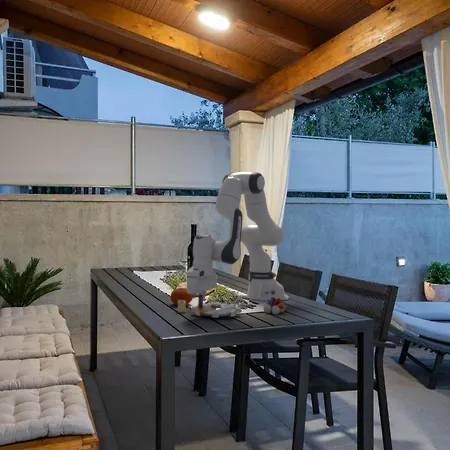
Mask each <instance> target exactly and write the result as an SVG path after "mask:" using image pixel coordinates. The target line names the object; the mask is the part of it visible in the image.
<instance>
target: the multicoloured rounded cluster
mask: <svg viewBox="0 0 450 450" xmlns="http://www.w3.org/2000/svg"><path fill="white" fill-rule="evenodd" d="M265 303H266V304H265V305H264V306H263V311H264V313H265V314H270V313H271V314H273V315H279V314H280V313H284V312H285V311H286V306H285V303H284V302H281V300H280V298H277V299H275V298H274V297H272V298H271V300H269V299H267V300H266V301H265Z"/></svg>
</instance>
